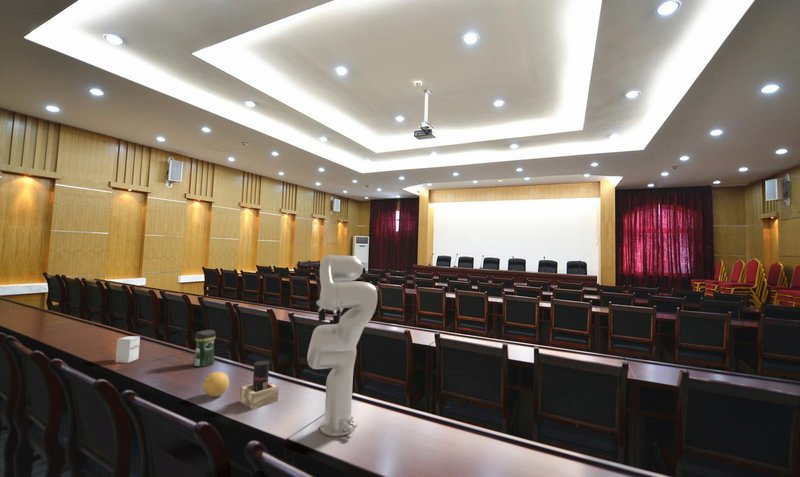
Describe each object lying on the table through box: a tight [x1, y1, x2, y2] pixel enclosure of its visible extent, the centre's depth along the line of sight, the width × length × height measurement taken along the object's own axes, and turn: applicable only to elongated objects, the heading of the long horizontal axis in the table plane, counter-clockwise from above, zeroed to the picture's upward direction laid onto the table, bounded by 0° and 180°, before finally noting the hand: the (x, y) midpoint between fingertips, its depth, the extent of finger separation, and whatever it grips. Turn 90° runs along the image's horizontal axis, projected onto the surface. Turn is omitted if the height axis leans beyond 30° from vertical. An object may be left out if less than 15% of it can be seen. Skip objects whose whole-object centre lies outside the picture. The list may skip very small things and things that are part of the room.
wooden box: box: [239, 381, 279, 410], centre depth 145 cm, size 11×11×6 cm
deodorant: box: [252, 360, 270, 392], centre depth 145 cm, size 6×6×15 cm
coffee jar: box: [193, 329, 216, 368], centre depth 188 cm, size 10×8×19 cm
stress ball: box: [202, 371, 230, 398], centre depth 149 cm, size 10×10×10 cm
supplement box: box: [115, 335, 141, 364], centre depth 190 cm, size 7×7×13 cm
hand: (328, 322), depth 150 cm, fingers open, 9 cm apart
